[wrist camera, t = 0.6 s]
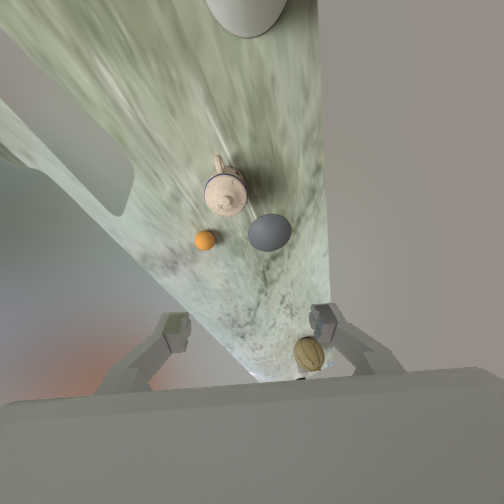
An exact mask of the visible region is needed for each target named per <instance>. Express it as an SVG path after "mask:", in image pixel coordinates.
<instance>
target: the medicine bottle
mask: <svg viewBox="0 0 504 504" xmlns="http://www.w3.org/2000/svg"><path fill="white" fill-rule="evenodd" d="M289 366H290V370H291V375H292V378H296V380H305V379H306V377H305V376H307V375H308V373H307V371H306V370H304V369H303V368H301V367H300V366H299V364H298V363H297V362H296V361H295V362H293V363H292V364H290V365H289Z"/></svg>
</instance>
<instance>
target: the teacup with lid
mask: <svg viewBox="0 0 504 504" xmlns="http://www.w3.org/2000/svg"><path fill="white" fill-rule="evenodd" d="M214 160H215V165H216V169H217V170H216V171H214V173H213V174H212V176H211V178H210V180H209V181H208V183H207V184H206V187H205V190H204V197H205V201H206V203H207V205H208V207H209V208H210V209H211V210H212V211H213V212H214V213H216V214H218V215H221V216H227V217H228V216H234V215H236V214H238V213H239V212H241V211H242V210H243V208H244V207H245V205H246V203H247V198H248V194H247V189H246V187H245V182H244V179H243V177H242V175H241V174H240V172H239V171H237V170H236V169H234V168H232V167H224V164H223V160H222V158H221V156H220V155H216V156H215V158H214Z"/></svg>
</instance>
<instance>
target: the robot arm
mask: <svg viewBox="0 0 504 504" xmlns="http://www.w3.org/2000/svg"><path fill="white" fill-rule="evenodd" d="M206 2H207V5H208V7H209V8H210V10H211V12H212V14H213V15H214V16H215V18H216V19H217V21H218V22H219V23H220V24H221V25H222V26H223V27H224V28H225V29H226V30H228V31H229V32H231V33H232V34H234V35H237V36H239V37H245V38H250V37H255V36H258V35H260V34H262V33H264V32H265V31H267V30H268V29H269V28H270V27H271V26H272V25H273V24H274V23H275V22H276V20H277V19H278V17H279V16H280V14H281V12H282V10H283V8H284V6H285V4H286V2H287V0H206ZM310 309H311V312H310V313H309V322H310V325H311V328H312V329H314V330H315V331H314V335H315V338H316V340H317V343H331V344H332V345H333V346H334V347H335V348H336V349H337V350H338V351H339V352H341V354H343V356H344V357H345V358H346V359H347V360H349V361H350V362H351V363H352V364H353V365H354V366H355V367H356V369H355V371H354V373H353V375H352V376H347V377H346V376H345V377H333V378H319V379H307V380H306V379H305V380H292V381H279V382H265V383H252V384H239V385H226V386H212V387H199V388H186V389H172V390H159V391H152V389H151V387H150V386H149V384H148V382H149V381H150V379H151V378H152V377H153V376H154V375H155V373H156V372H157V371H158V370H159V369H160V367H161V366H162V365H163V364H164V363H165V361H166V360H167V359H168V358H169V357H170V355H171V353H181V352H185V351H186V348H187V344H188V339H187V338H188V337H189V336H190V333H191V320H189V319H188V318H189V314H188V312H169V313H163V314H162V315H161V317H160V319H159V321H158V323H157V325H156V327H155V329H154V332H153V334H152V335H151V336H148V337H147V338H146V339H145V340H143V341H142V342H141V343H140V344H139V345H137V346H136V347H135V348H134V349H133V350H131V351H130V352H129V353H128V354H127V355H125V356H124V357H123V358H122V359H121V360H120V361H118V362H117V363H116V364H115V365H113V366H112V367H111V368H110V369H109V371H108V373H107V374H106V376H105V377H104V379H103V381H102V383H101V384H100V386H99V387H98V389H97V391H96V392H95V394H94V395H93V396H79V397H66V398H52V399H39V400H23V401H14V402H9V403H6V404H4V405H2V406H0V504H504V379H502V378H500V377H498V376H496V375H495V374H492V373H490V372H488V371H486V370H484V369H481V368H477V367H465V368H452V369H439V370H425V371H412V372H406V371H405V369H404V368H403V367H402V365H401V364H400V363H399V362H398V360H397V359H396V357H395V356H394V355H393V354H392V352H391V351H390V350H389V349H388V348H386V347H385V346H384V345H382V344H381V343H379V342H378V341H376V340H375V339H373V338H372V337H370V336H369V335H367V334H366V333H364V332H363V331H361V330H360V329H358V328H357V327H355V326H354V325H352V324H351V323H348V322H347V321H346V319H345V318H344V316H343V314H342V313H341V311H340V310H339V308H338V307H337V305H336V304H335V303H327V304H326V303H325V304H312V305H311V308H310Z"/></svg>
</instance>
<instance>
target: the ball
mask: <svg viewBox="0 0 504 504" xmlns="http://www.w3.org/2000/svg"><path fill="white" fill-rule="evenodd" d="M214 243H215V239H214V236H213V235H212V234H211V233H210V232H208V231H201V232H199V233H198V234H197V235H196V237H195V244H196V246H197V247H198V248H199V249H201V250H209V249H211V248H212V247H213V245H214Z"/></svg>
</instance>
